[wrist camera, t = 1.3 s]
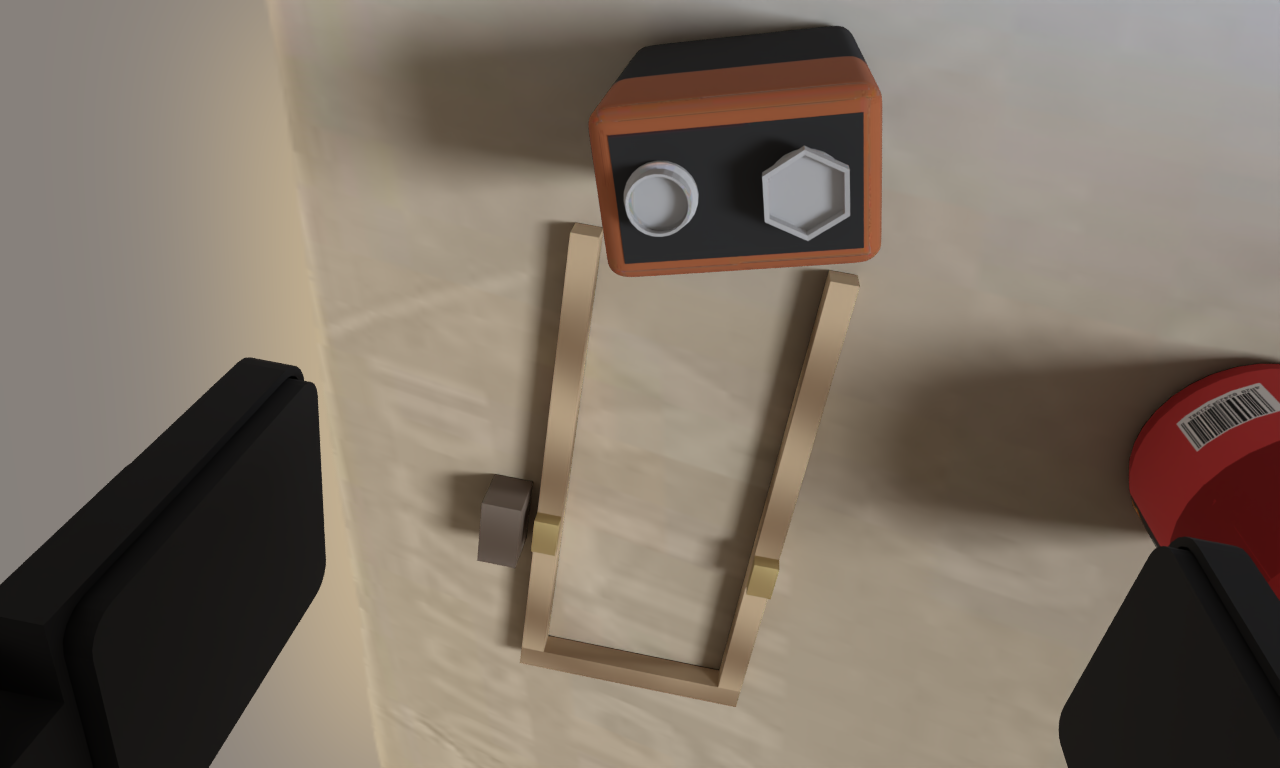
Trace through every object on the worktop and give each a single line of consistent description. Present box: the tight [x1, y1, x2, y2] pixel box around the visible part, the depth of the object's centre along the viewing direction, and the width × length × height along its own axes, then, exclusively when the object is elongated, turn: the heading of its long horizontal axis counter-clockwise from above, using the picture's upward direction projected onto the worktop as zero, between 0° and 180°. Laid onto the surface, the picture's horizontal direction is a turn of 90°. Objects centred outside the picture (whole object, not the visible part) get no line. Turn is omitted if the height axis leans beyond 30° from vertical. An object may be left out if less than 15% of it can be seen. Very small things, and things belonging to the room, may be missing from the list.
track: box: [477, 223, 860, 707], centre depth 36 cm, size 21×12×2 cm, turn 171°
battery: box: [588, 26, 882, 277], centre depth 25 cm, size 4×7×10 cm, turn 97°
